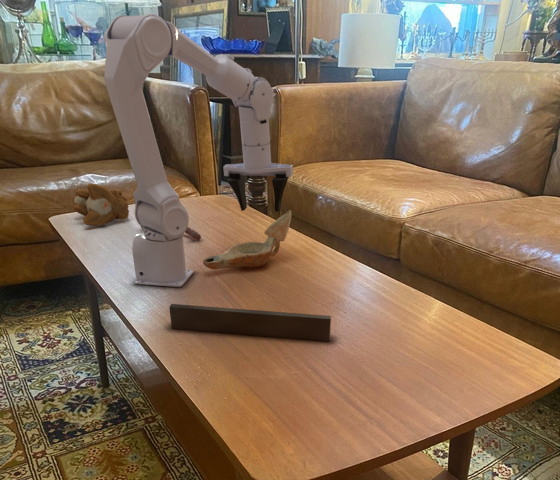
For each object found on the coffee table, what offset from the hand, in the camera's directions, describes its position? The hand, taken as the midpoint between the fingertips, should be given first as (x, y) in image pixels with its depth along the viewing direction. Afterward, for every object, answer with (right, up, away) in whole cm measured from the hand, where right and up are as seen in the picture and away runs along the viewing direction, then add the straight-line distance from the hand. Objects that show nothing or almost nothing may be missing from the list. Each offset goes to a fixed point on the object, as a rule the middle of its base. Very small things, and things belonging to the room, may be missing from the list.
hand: (260, 209), depth 119 cm
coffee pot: (-23, -2, +15) cm, 27 cm away
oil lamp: (-2, -13, -3) cm, 13 cm away
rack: (-1, -29, -30) cm, 41 cm away
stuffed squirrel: (-39, +7, +19) cm, 44 cm away
